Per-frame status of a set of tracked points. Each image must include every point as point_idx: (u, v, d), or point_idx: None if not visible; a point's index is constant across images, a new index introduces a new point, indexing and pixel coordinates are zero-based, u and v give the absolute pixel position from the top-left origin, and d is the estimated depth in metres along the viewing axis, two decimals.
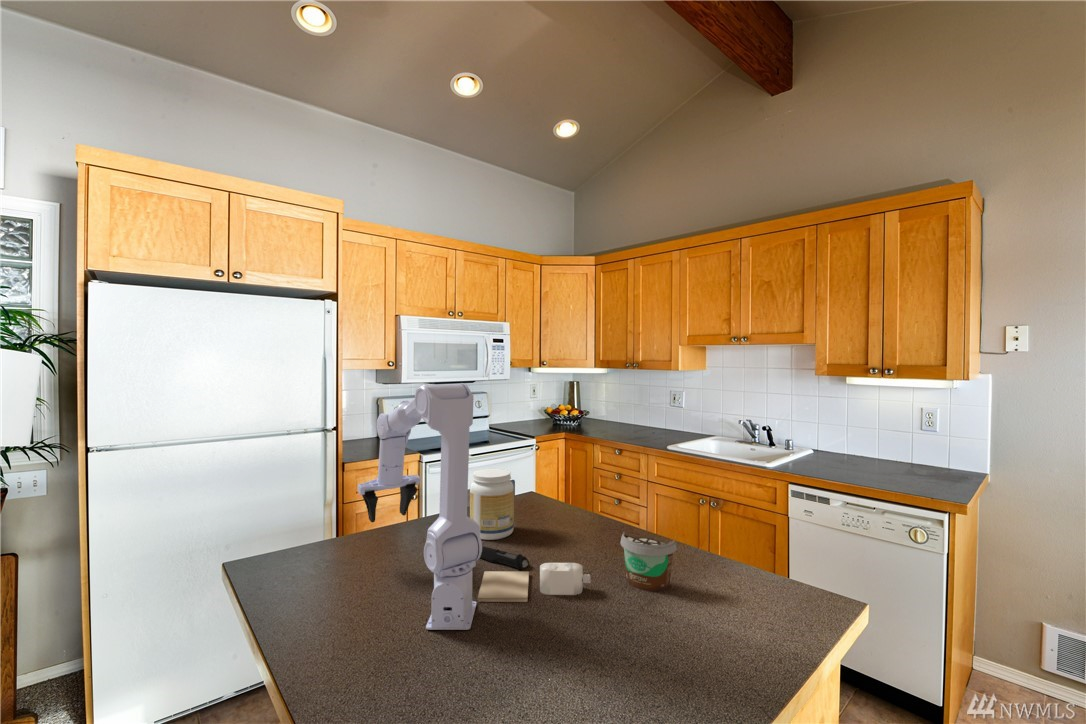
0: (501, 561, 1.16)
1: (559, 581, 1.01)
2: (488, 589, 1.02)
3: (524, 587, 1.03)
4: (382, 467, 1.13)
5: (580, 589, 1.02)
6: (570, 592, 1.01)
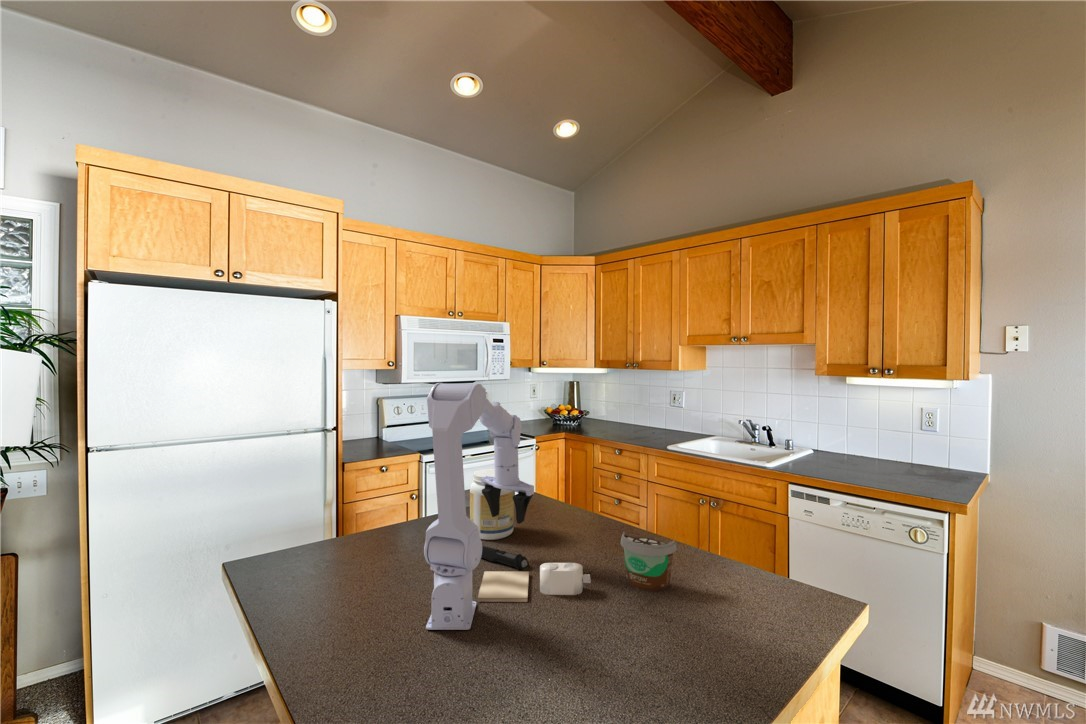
0: (501, 561, 1.16)
1: (559, 581, 1.01)
2: (488, 589, 1.02)
3: (524, 587, 1.03)
4: None
5: (580, 589, 1.02)
6: (570, 592, 1.01)
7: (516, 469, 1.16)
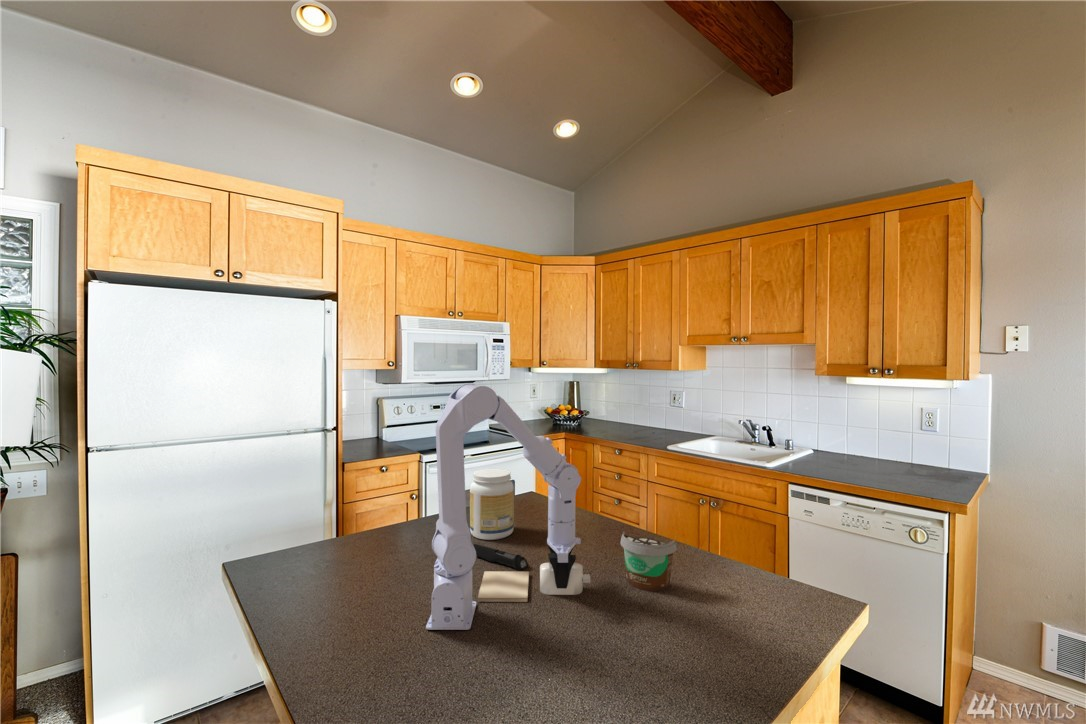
0: (500, 561, 1.16)
1: None
2: (488, 589, 1.02)
3: (524, 587, 1.03)
4: None
5: (580, 589, 1.02)
6: (570, 592, 1.01)
7: (563, 527, 1.00)
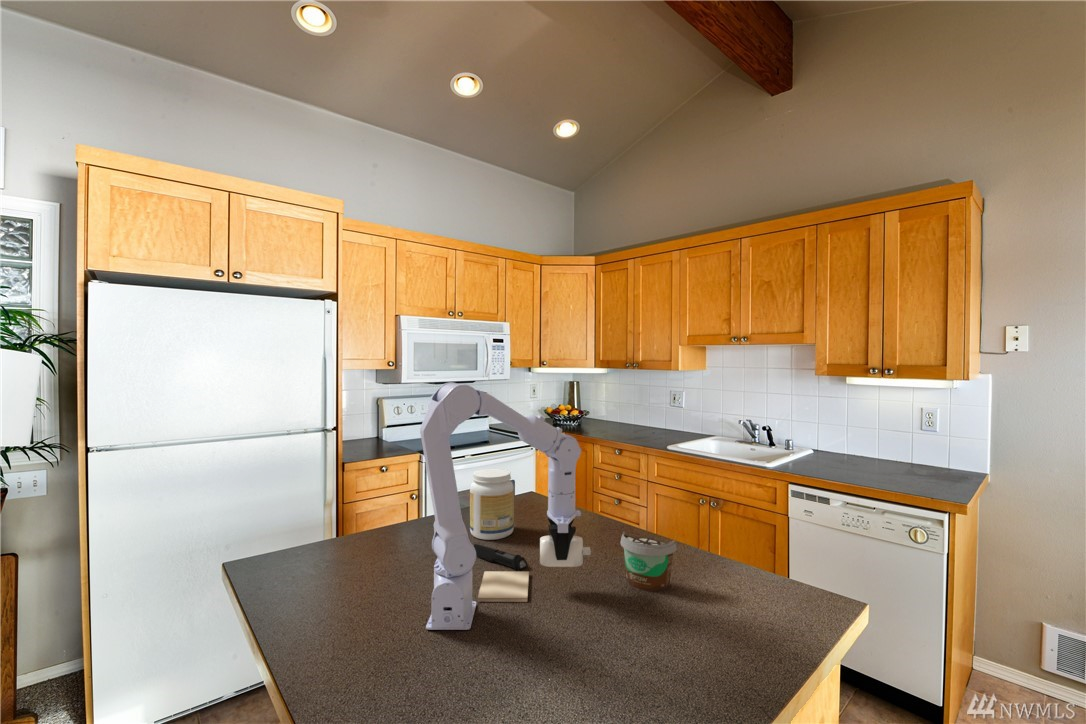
0: (499, 561, 1.16)
1: None
2: (488, 589, 1.02)
3: (524, 587, 1.03)
4: None
5: (580, 561, 1.02)
6: (570, 564, 1.01)
7: (563, 499, 1.00)
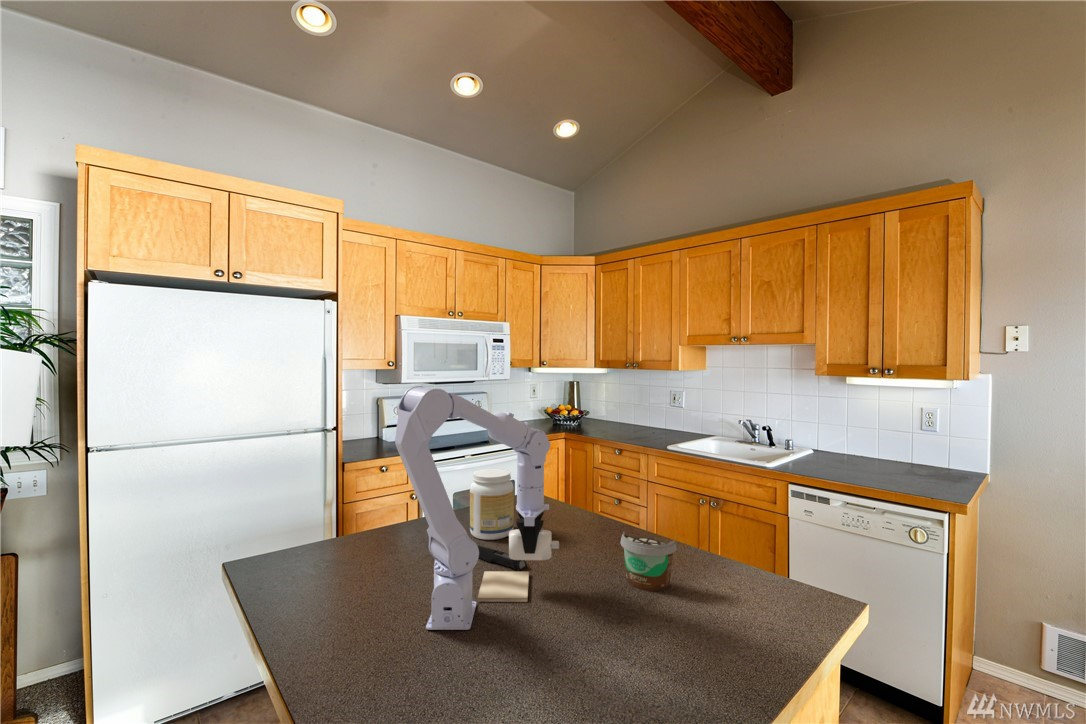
0: (498, 561, 1.16)
1: None
2: (488, 589, 1.02)
3: (524, 587, 1.03)
4: None
5: (548, 555, 1.02)
6: (538, 558, 1.02)
7: (531, 493, 1.01)
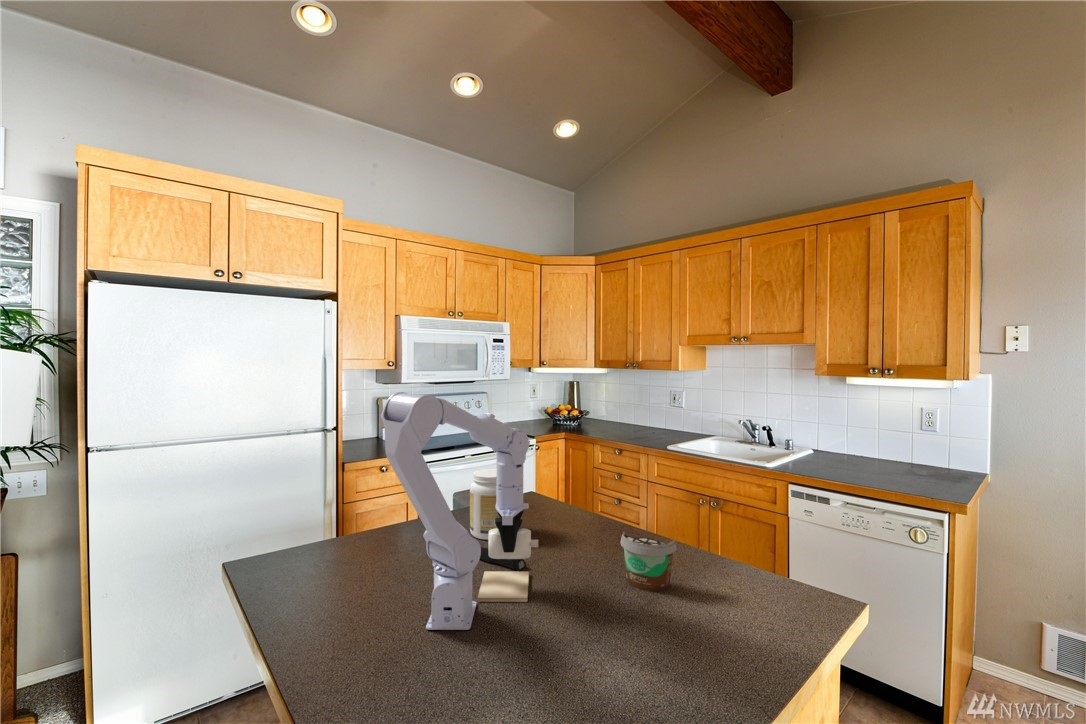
0: (498, 562, 1.15)
1: None
2: (488, 589, 1.02)
3: (524, 587, 1.03)
4: None
5: (528, 553, 1.03)
6: (517, 556, 1.02)
7: (509, 492, 1.01)
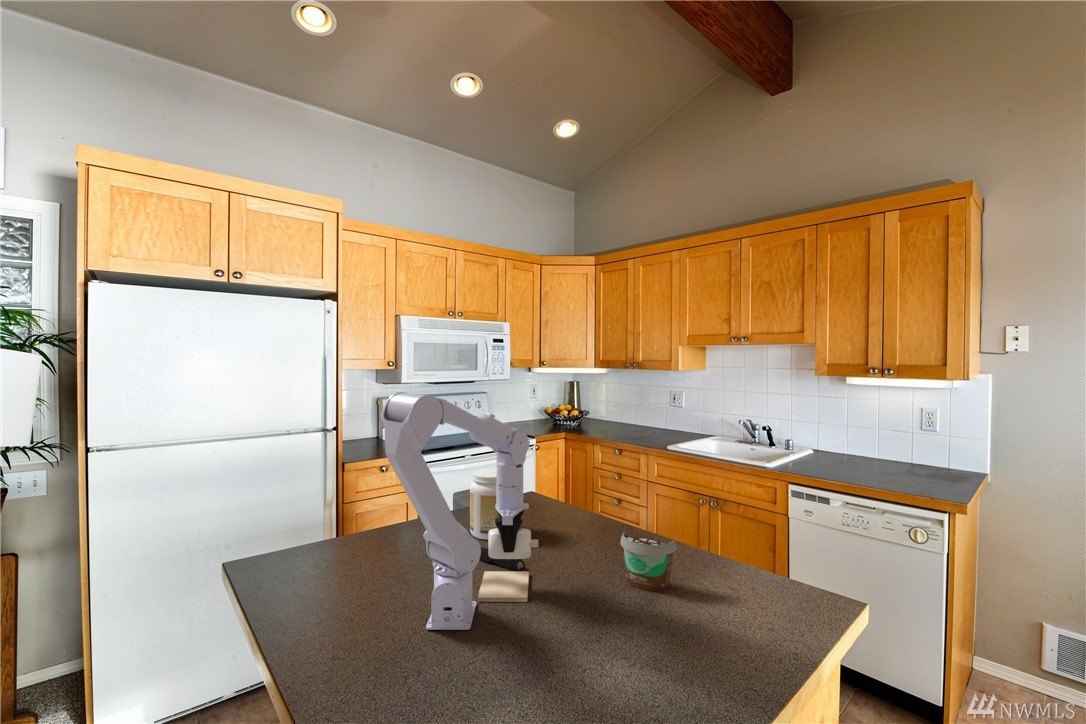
0: (497, 562, 1.15)
1: None
2: (488, 589, 1.02)
3: (524, 587, 1.03)
4: None
5: (528, 553, 1.03)
6: (517, 556, 1.02)
7: (509, 492, 1.01)
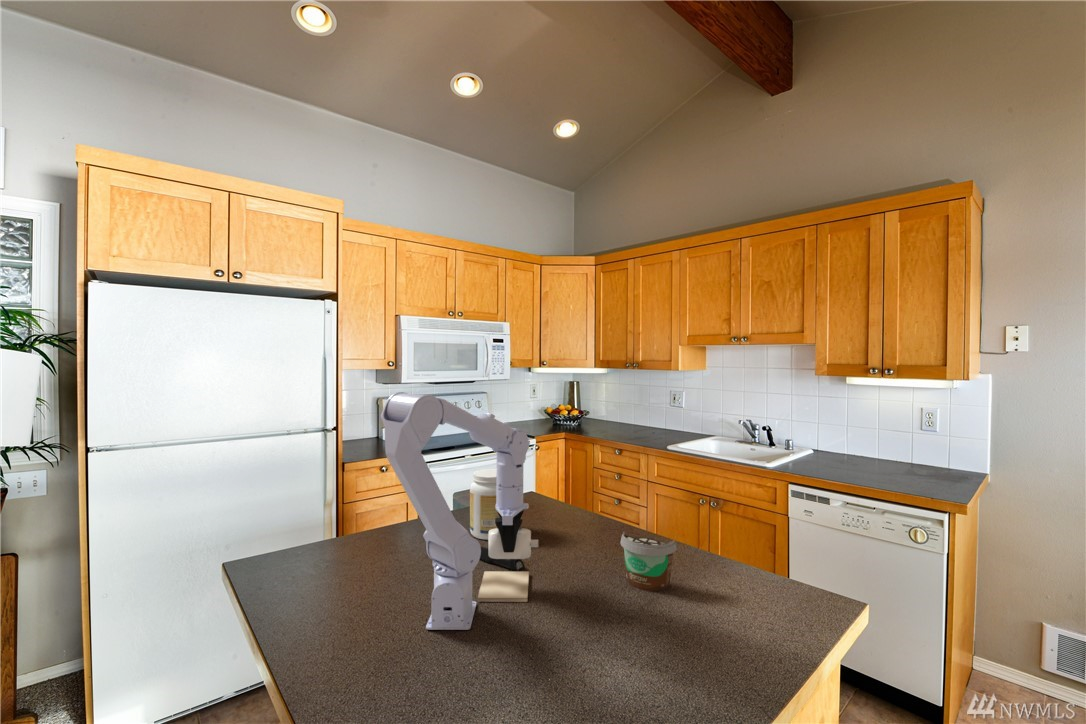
0: (496, 562, 1.15)
1: None
2: (488, 589, 1.02)
3: (524, 587, 1.03)
4: None
5: (528, 553, 1.03)
6: (517, 556, 1.02)
7: (509, 492, 1.01)
